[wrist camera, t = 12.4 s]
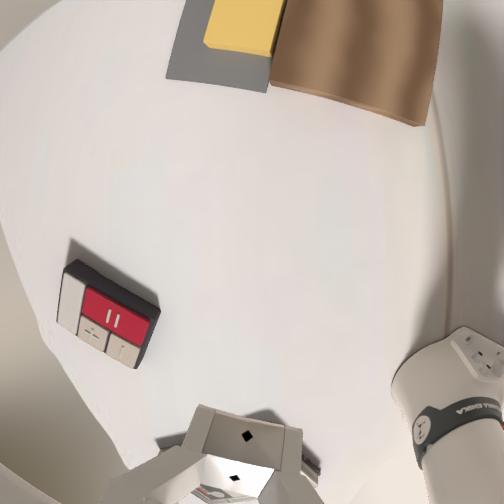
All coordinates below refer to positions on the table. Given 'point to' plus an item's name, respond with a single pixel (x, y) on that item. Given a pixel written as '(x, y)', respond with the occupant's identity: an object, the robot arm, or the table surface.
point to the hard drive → (221, 496)
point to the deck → (361, 53)
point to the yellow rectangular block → (245, 25)
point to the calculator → (105, 314)
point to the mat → (214, 55)
